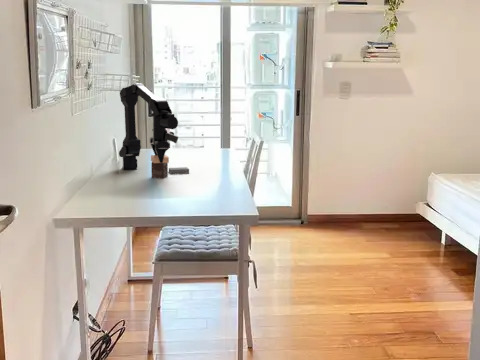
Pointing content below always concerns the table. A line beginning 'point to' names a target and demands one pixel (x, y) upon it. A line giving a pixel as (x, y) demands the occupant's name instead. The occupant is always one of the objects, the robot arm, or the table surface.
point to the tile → (156, 160)
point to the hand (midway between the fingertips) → (159, 160)
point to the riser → (178, 170)
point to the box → (159, 170)
